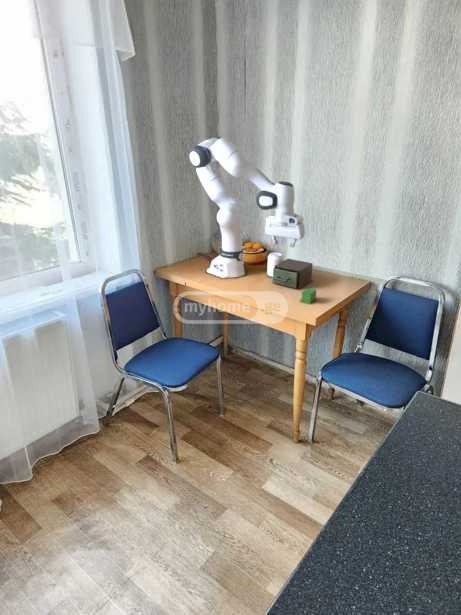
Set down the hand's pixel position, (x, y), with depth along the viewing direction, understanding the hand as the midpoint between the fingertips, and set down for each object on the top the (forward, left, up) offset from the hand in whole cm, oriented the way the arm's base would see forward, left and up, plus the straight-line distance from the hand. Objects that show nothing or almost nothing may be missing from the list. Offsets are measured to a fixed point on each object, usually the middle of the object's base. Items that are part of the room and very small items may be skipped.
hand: (284, 245), depth 194 cm
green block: (+18, -7, -22) cm, 30 cm away
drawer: (0, +6, -21) cm, 22 cm away
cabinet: (0, +11, -22) cm, 25 cm away
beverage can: (-13, +14, -23) cm, 30 cm away
